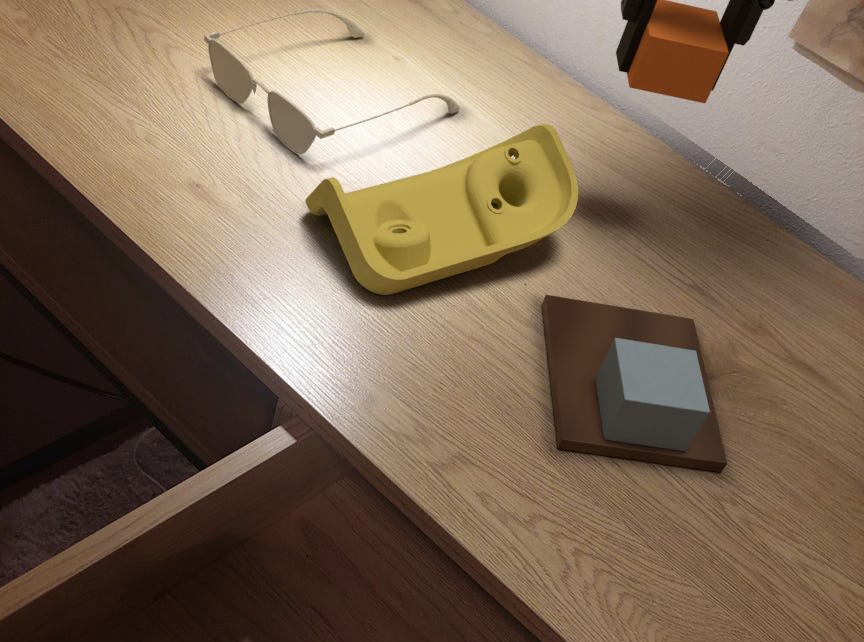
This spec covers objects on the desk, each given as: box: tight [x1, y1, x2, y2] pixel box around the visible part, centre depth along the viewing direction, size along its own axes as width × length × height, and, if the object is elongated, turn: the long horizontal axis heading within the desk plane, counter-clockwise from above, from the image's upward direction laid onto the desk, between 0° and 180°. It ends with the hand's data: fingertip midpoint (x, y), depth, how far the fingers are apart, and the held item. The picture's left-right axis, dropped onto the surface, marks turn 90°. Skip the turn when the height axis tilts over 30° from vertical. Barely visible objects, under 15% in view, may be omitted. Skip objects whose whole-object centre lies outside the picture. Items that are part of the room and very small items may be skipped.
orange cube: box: [626, 0, 729, 104], centre depth 79 cm, size 6×6×4 cm
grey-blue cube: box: [595, 338, 710, 451], centre depth 74 cm, size 6×6×4 cm
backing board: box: [541, 294, 728, 473], centre depth 78 cm, size 12×15×1 cm
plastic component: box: [304, 123, 579, 296], centre depth 83 cm, size 20×7×10 cm
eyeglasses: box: [203, 8, 461, 155], centre depth 92 cm, size 15×18×4 cm
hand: (664, 70), depth 81 cm, fingers closed on orange cube, 6 cm apart
